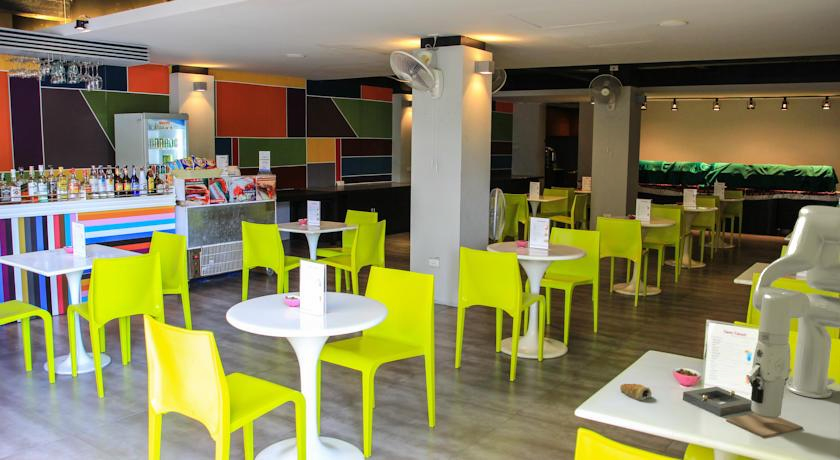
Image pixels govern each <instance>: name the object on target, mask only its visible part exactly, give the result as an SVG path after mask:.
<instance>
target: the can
mask: <svg viewBox="0 0 840 460" xmlns="http://www.w3.org/2000/svg"><path fill="white" fill-rule="evenodd" d="M759 377H761V375H759ZM781 377H782V376H779V377H775V378H776V379H775V380H774V381H770V382H767V381H765V383H764V385H763V387H762V389H763V401H762V403H761V404H760V403H757V402H755V401H752V400H751V401H752V405H751V410H752V412H753V414H756V415H757V416H760V417H763V418H770V419H773V418H777V417H780V416H781V415H782V407H783V399H784V393H783V391H784V389H785V386H784V382H785V381H784V380H783V379H781ZM761 378H762V377H761ZM757 381H758V383H760V381H761V380H759V379H757ZM784 392H785V391H784Z"/></svg>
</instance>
